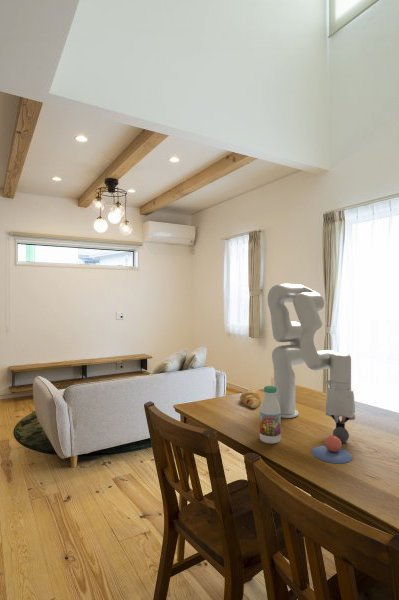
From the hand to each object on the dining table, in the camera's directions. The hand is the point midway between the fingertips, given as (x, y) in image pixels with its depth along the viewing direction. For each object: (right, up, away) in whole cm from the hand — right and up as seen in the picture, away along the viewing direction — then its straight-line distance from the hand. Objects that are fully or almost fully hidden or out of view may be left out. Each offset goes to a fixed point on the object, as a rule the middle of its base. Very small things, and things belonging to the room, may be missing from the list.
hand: (340, 432), depth 134 cm
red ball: (-8, +1, -13) cm, 16 cm away
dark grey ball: (-2, +1, -5) cm, 6 cm away
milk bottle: (-28, -2, -4) cm, 28 cm away
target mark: (-9, -2, -16) cm, 18 cm away
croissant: (-29, -2, +42) cm, 51 cm away
